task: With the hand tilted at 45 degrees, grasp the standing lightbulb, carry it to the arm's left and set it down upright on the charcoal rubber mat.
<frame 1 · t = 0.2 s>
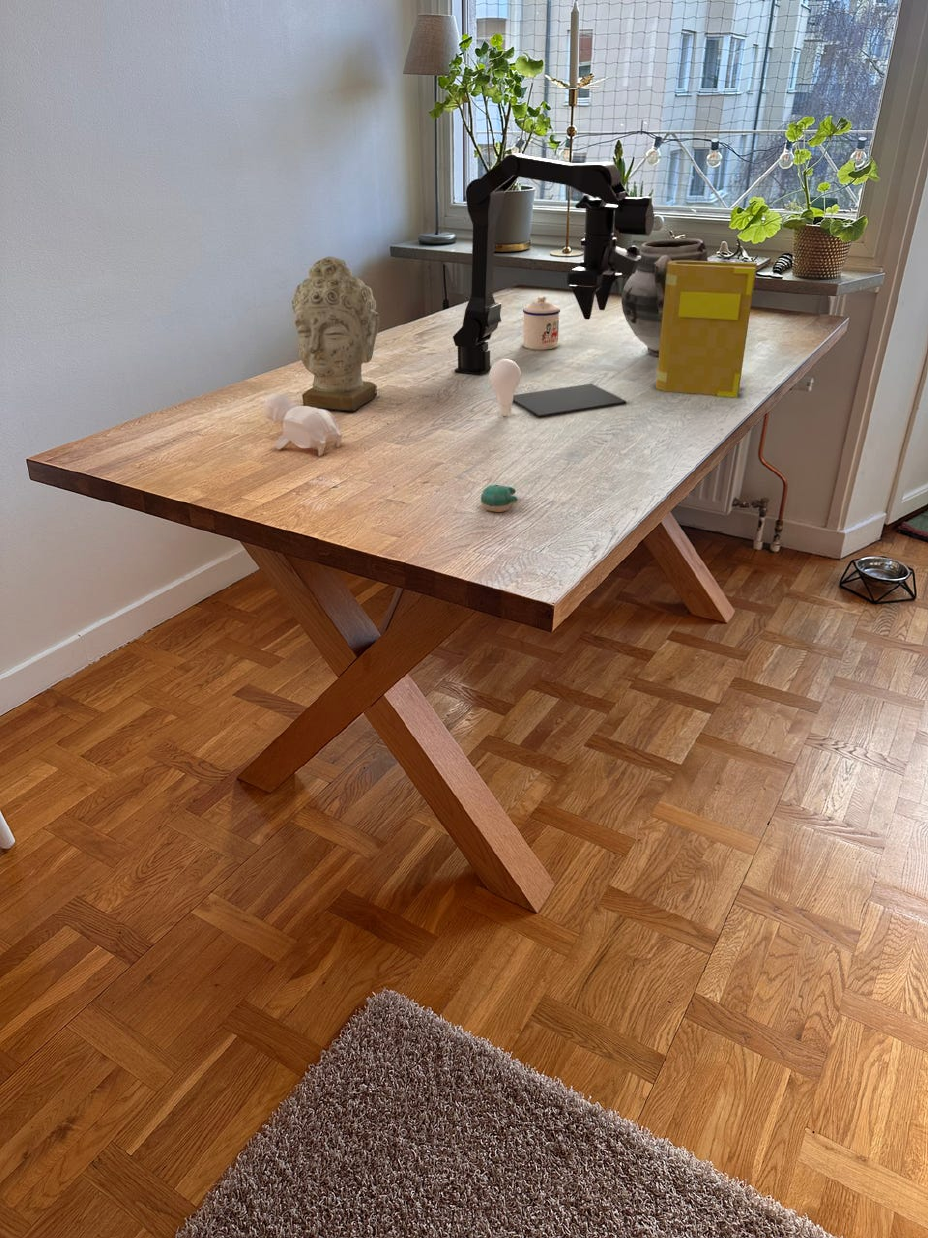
hand: (594, 314, 186), 15 cm above the table, tool pointing down, fingers open, 9 cm apart
lightbulb: (504, 416, 176), on the table
buddha head: (341, 402, 186), on the table
book: (696, 390, 189), on the table
teacup with lid: (543, 345, 224), on the table
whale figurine: (499, 506, 139), on the table
mat: (566, 400, 184), on the table
white turtle figurine: (303, 446, 164), on the table
ceramic pot: (665, 353, 215), on the table
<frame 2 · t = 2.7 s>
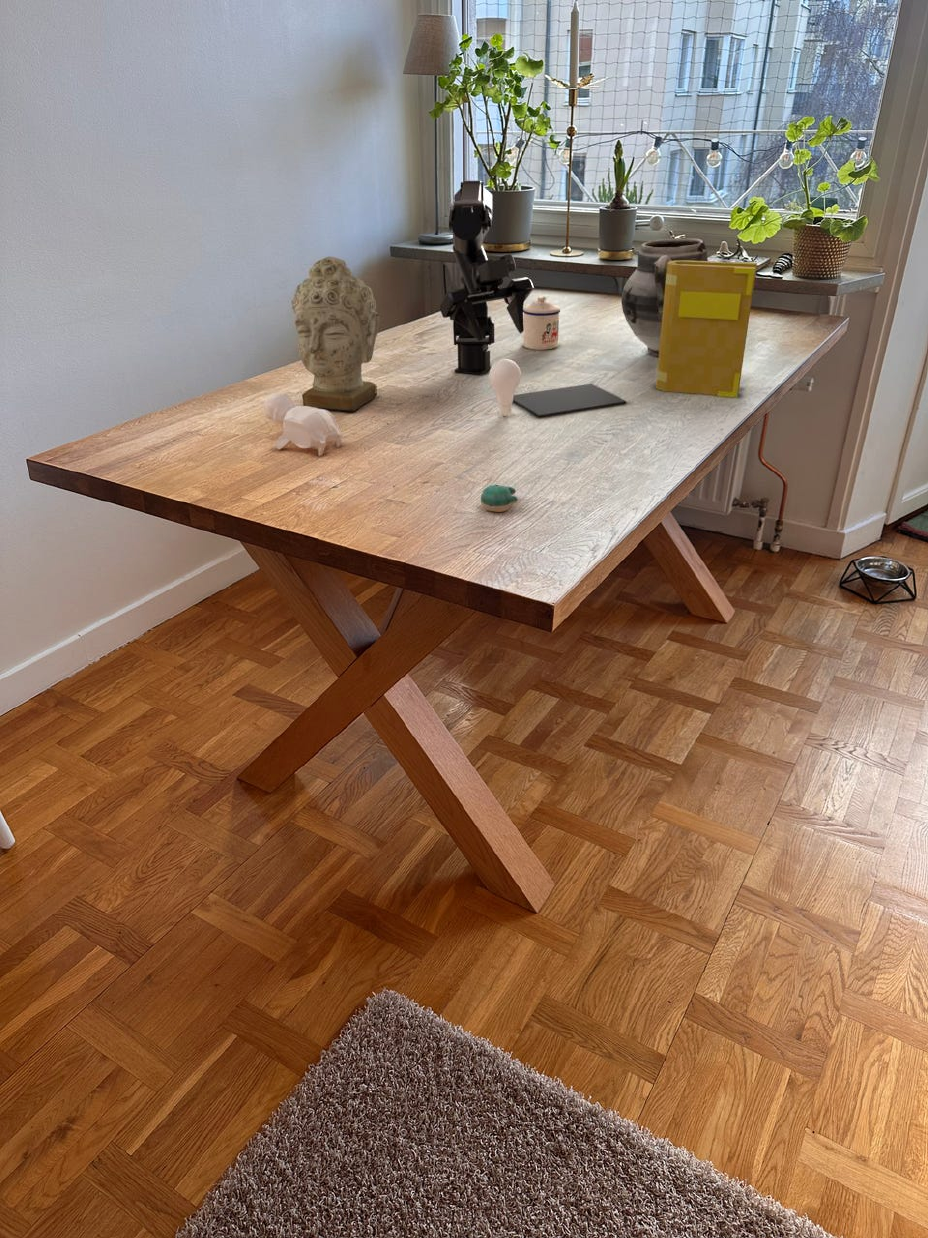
hand: (501, 336, 176), 14 cm above the table, tool tilted 40°, fingers open, 9 cm apart
nothing on the table moved.
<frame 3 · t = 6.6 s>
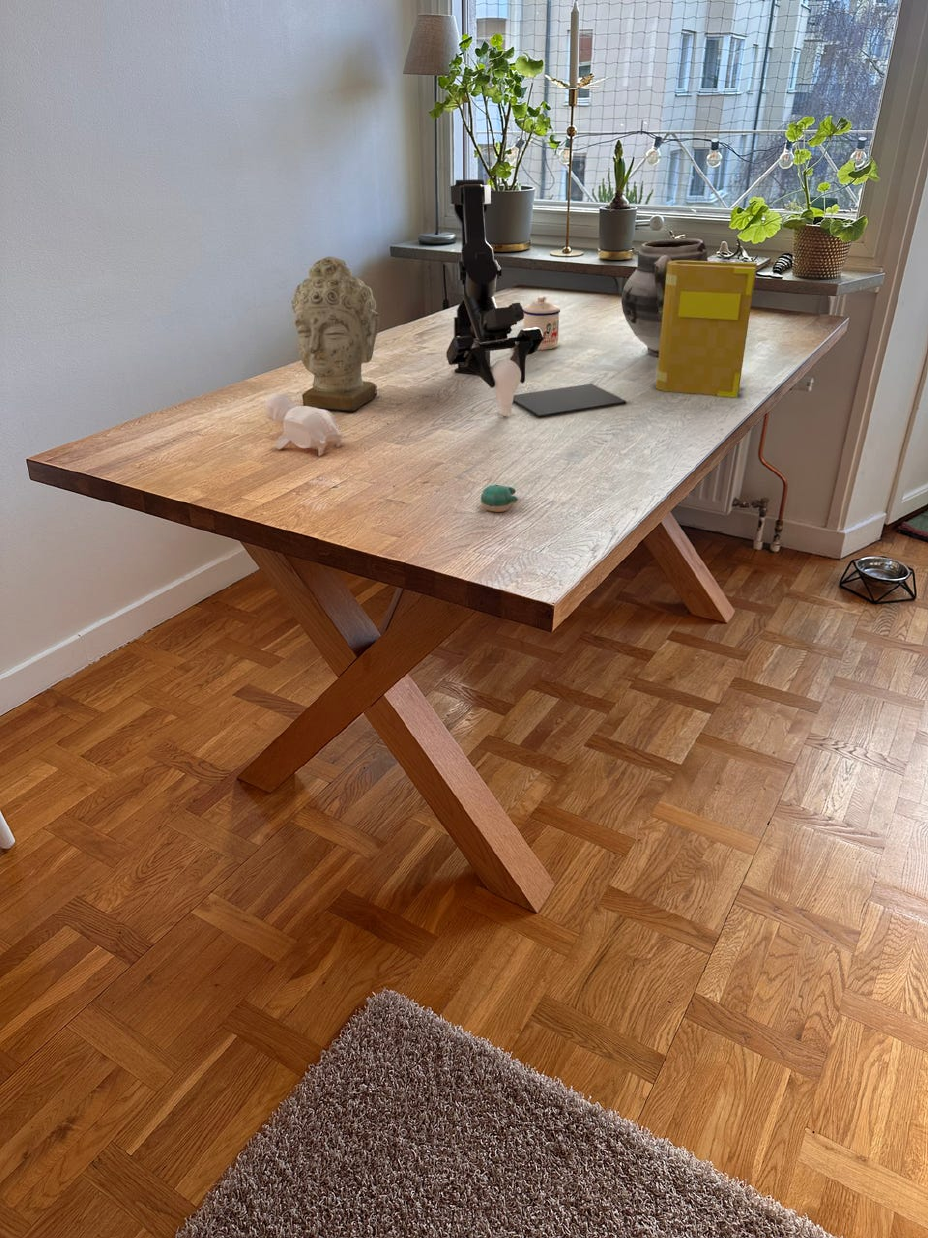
hand: (508, 384, 171), 7 cm above the table, tool tilted 45°, fingers closed on lightbulb, 6 cm apart
lightbulb: (504, 416, 176), on the table, touching gripper
everything else where it was.
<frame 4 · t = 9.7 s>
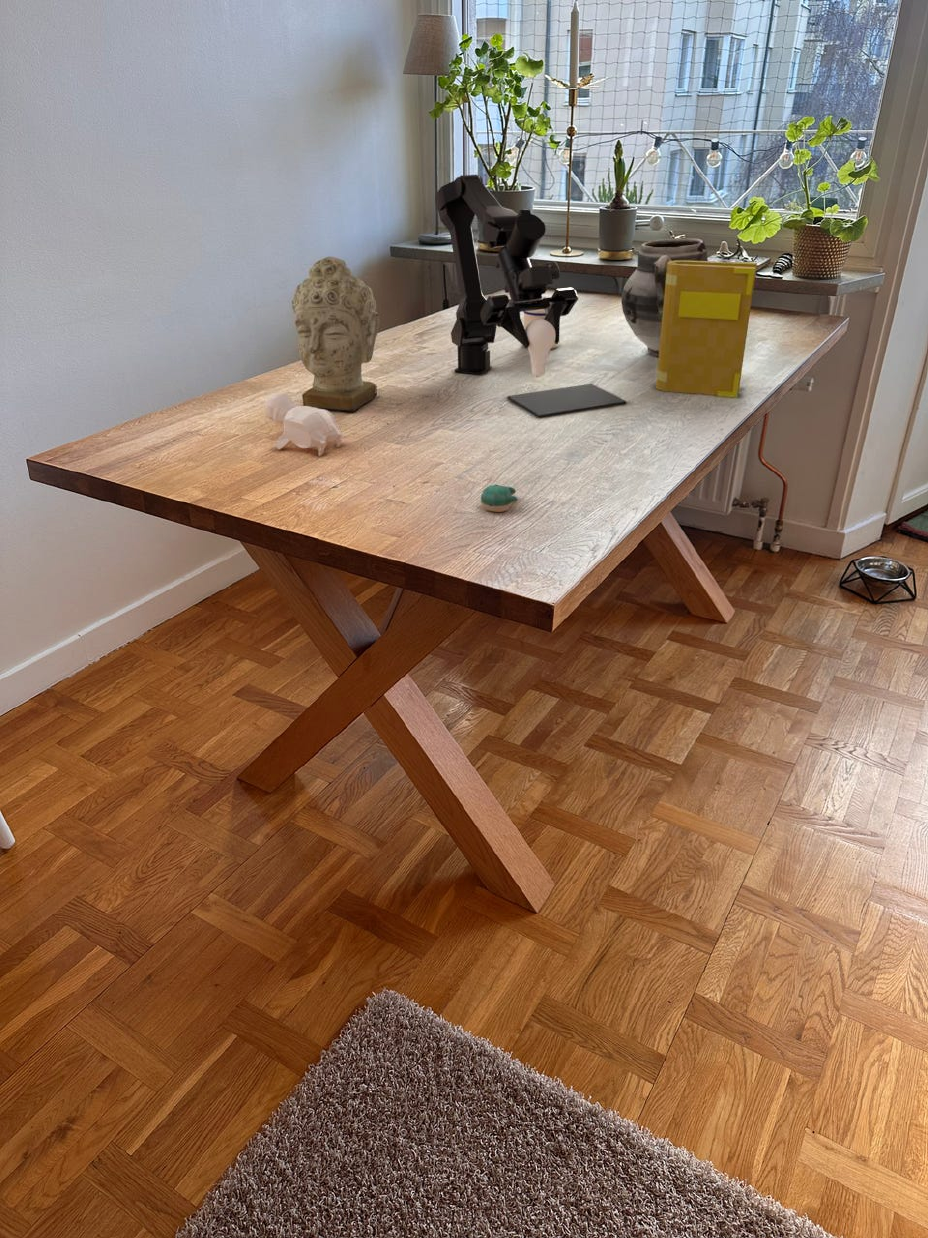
hand: (542, 344, 171), 13 cm above the table, tool tilted 45°, fingers closed on lightbulb, 6 cm apart
lightbulb: (538, 378, 175), point 6 cm above the table, touching gripper
everything else where it was.
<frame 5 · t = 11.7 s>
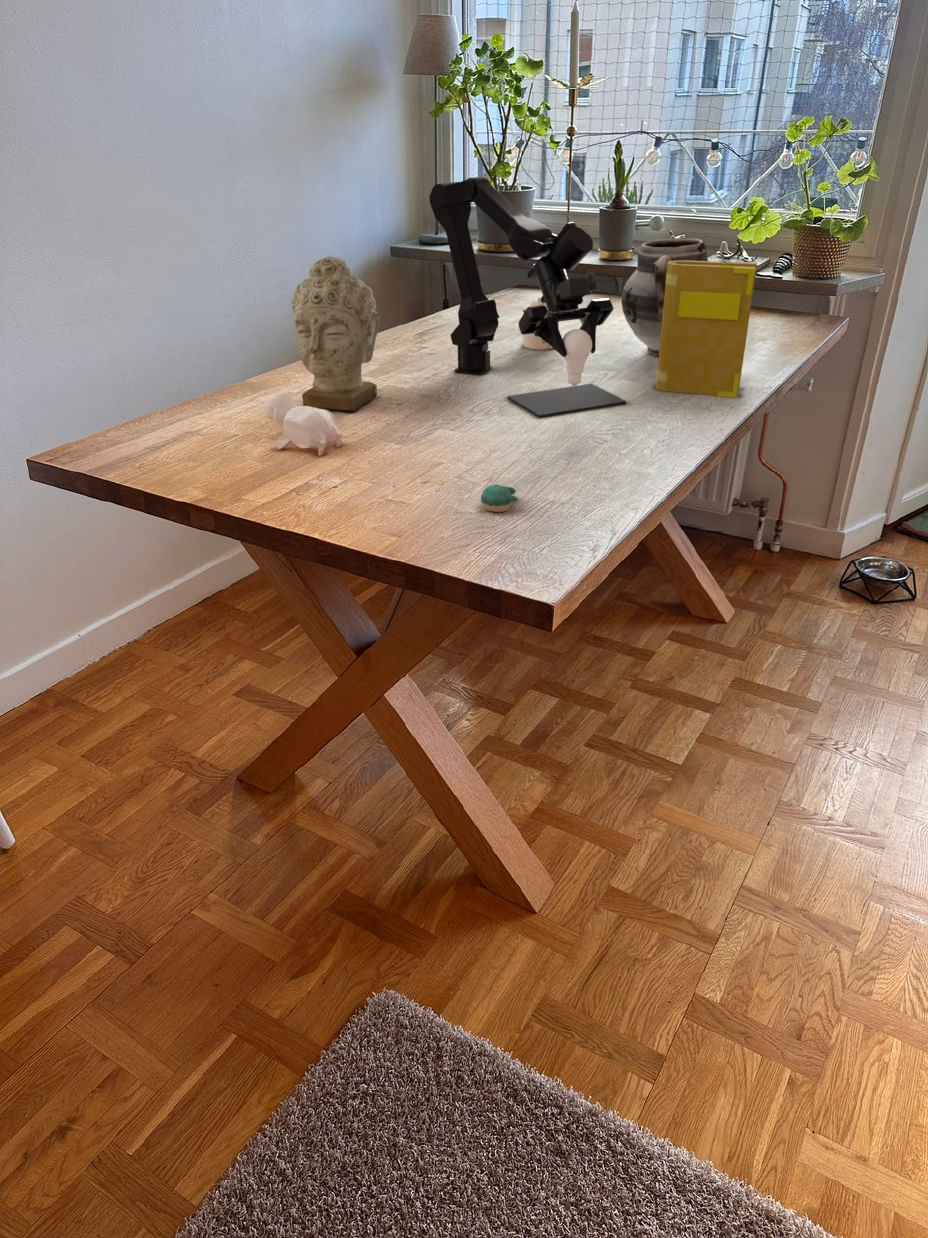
hand: (579, 353, 175), 10 cm above the table, tool tilted 45°, fingers closed on lightbulb, 6 cm apart
lightbulb: (574, 386, 179), point 4 cm above the table, touching gripper
everything else where it was.
when the fingers open (7 cm above the table, at t = 13.2 s): lightbulb stays where it is, resting on mat.
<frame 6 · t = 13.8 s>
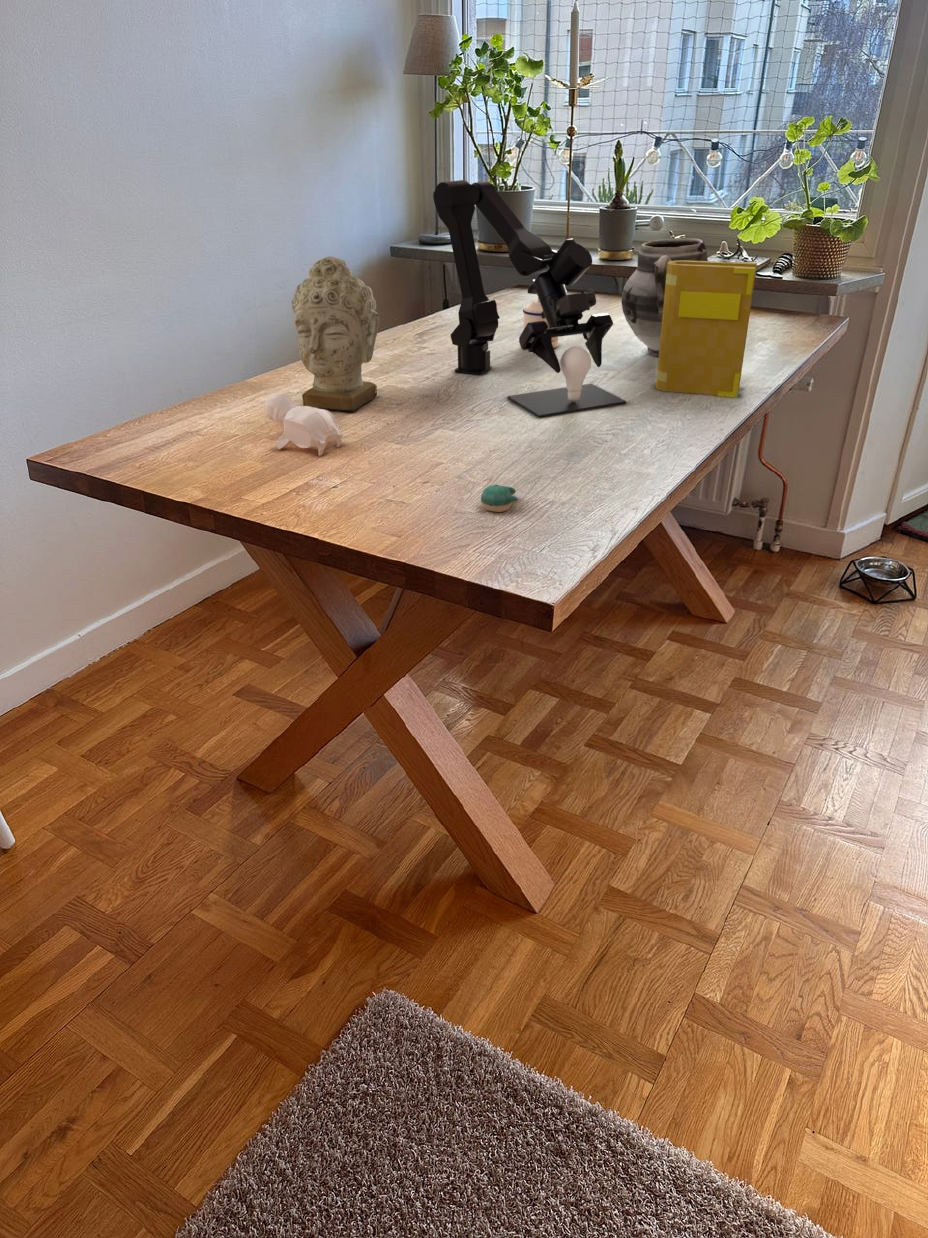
hand: (579, 368, 176), 8 cm above the table, tool tilted 45°, fingers open, 9 cm apart
lightbulb: (573, 403, 181), resting on mat
everything else where it was.
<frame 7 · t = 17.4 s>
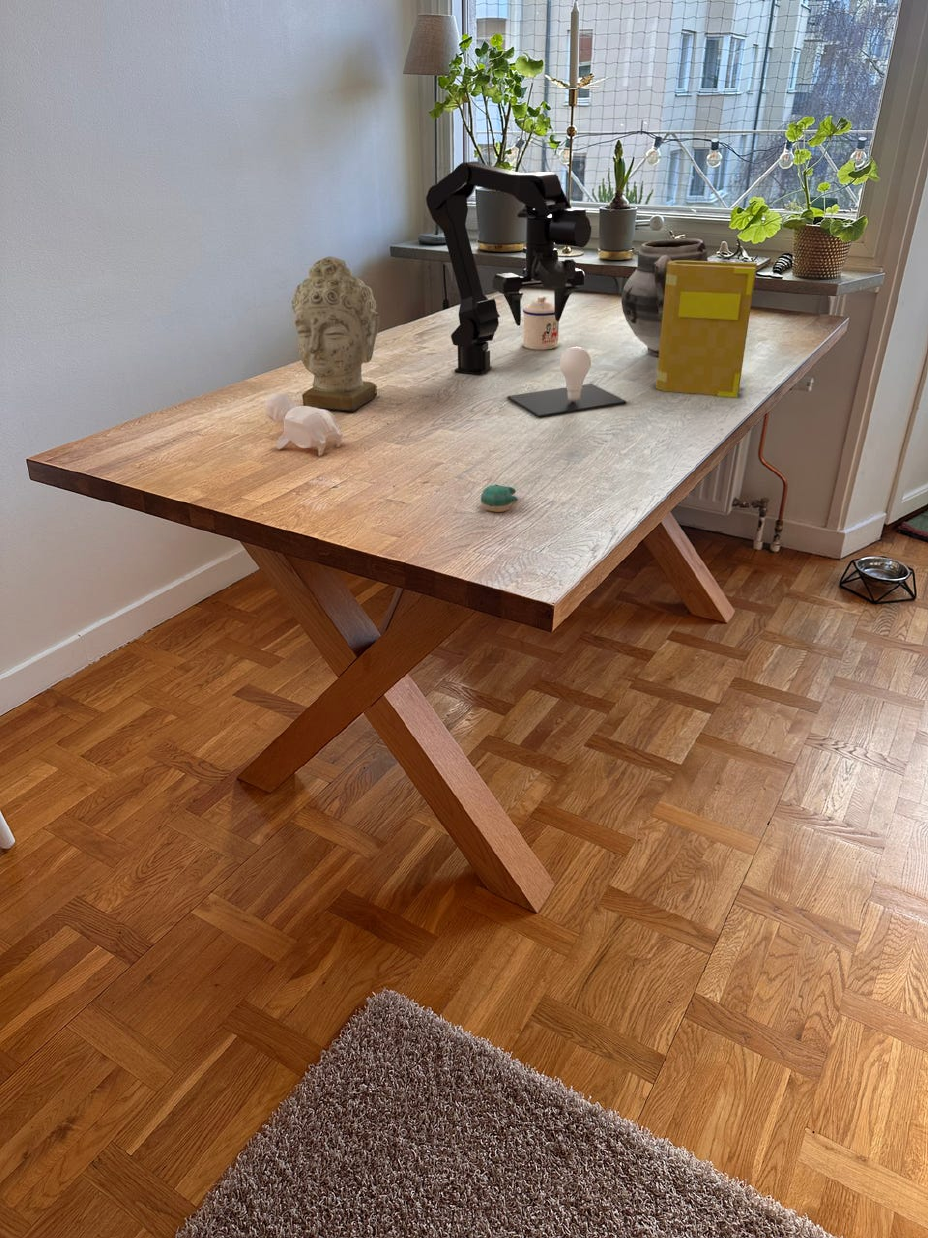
hand: (538, 322, 187), 13 cm above the table, tool pointing down, fingers open, 9 cm apart
nothing on the table moved.
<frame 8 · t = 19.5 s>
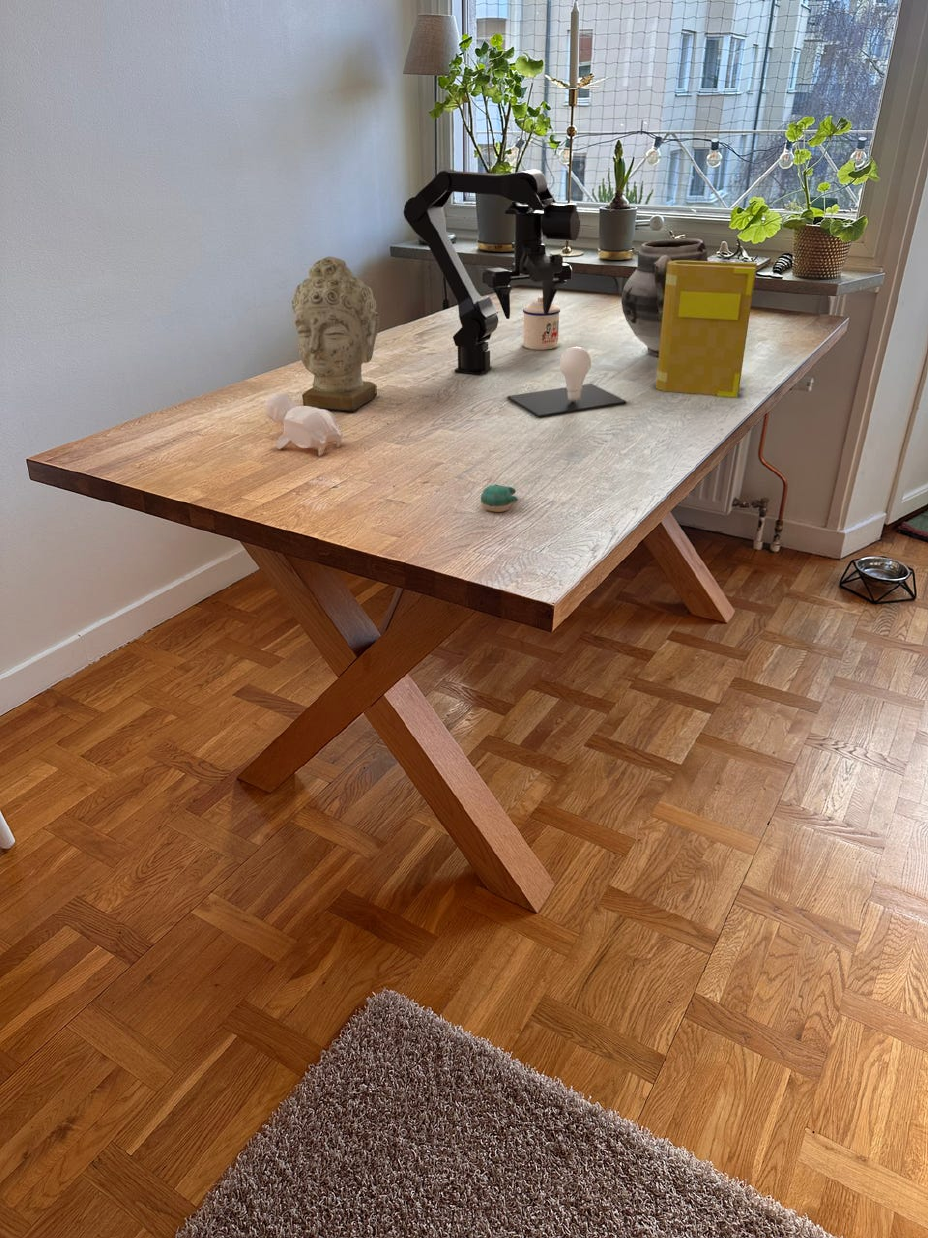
hand: (526, 316, 193), 13 cm above the table, tool pointing down, fingers open, 9 cm apart
nothing on the table moved.
at the end: lightbulb inside the target area on the mat (0.8 cm from its centre), point 0.3 cm above the mat's base; lightbulb tilted 0°; the gripper is holding nothing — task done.
